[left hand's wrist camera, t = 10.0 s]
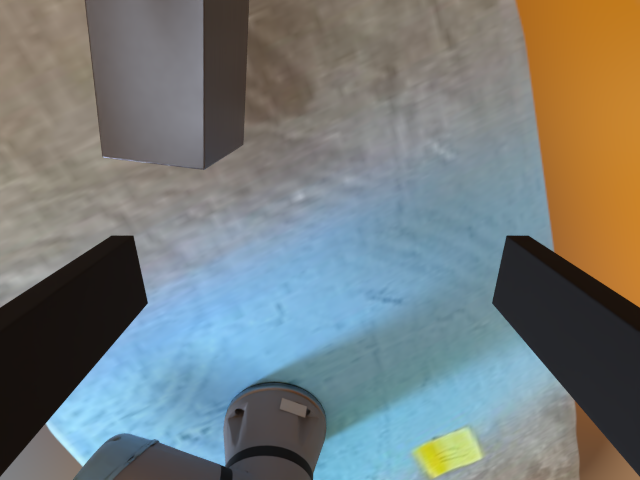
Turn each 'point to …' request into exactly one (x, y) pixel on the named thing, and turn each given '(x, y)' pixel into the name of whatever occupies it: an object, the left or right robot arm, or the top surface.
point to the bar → (169, 78)
